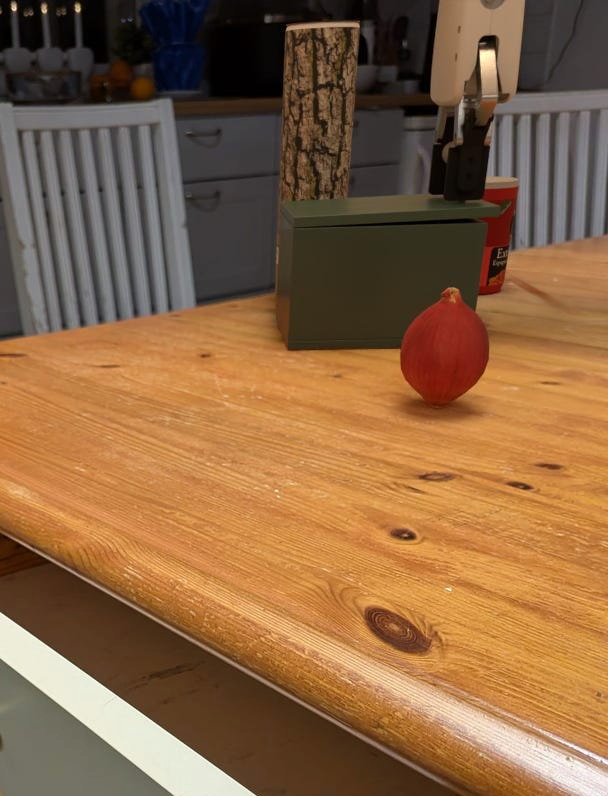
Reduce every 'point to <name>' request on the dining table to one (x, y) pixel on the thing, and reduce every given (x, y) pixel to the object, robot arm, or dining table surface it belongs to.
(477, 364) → the onion
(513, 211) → the canned food
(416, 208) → the bin lid
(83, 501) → the dining table surface
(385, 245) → the bin
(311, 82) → the bark log
